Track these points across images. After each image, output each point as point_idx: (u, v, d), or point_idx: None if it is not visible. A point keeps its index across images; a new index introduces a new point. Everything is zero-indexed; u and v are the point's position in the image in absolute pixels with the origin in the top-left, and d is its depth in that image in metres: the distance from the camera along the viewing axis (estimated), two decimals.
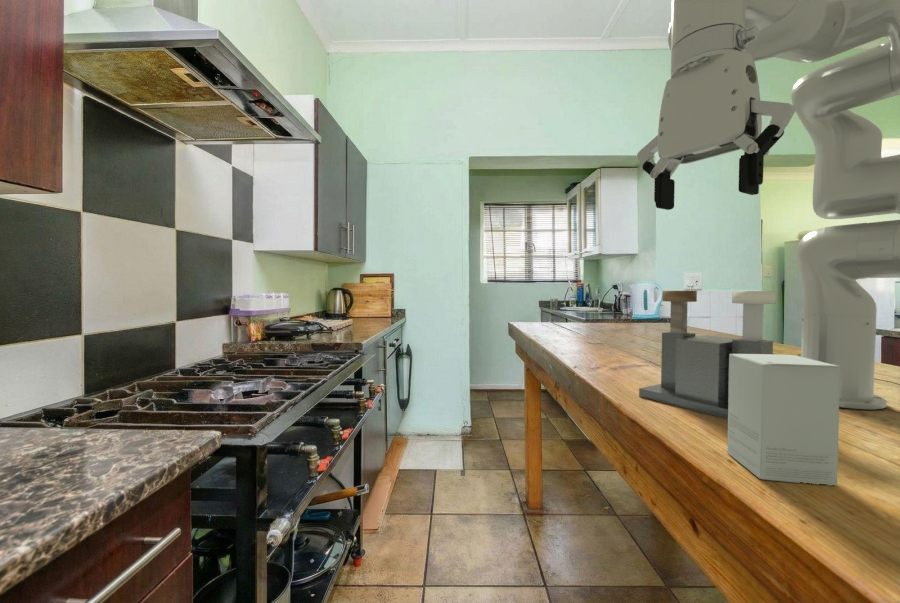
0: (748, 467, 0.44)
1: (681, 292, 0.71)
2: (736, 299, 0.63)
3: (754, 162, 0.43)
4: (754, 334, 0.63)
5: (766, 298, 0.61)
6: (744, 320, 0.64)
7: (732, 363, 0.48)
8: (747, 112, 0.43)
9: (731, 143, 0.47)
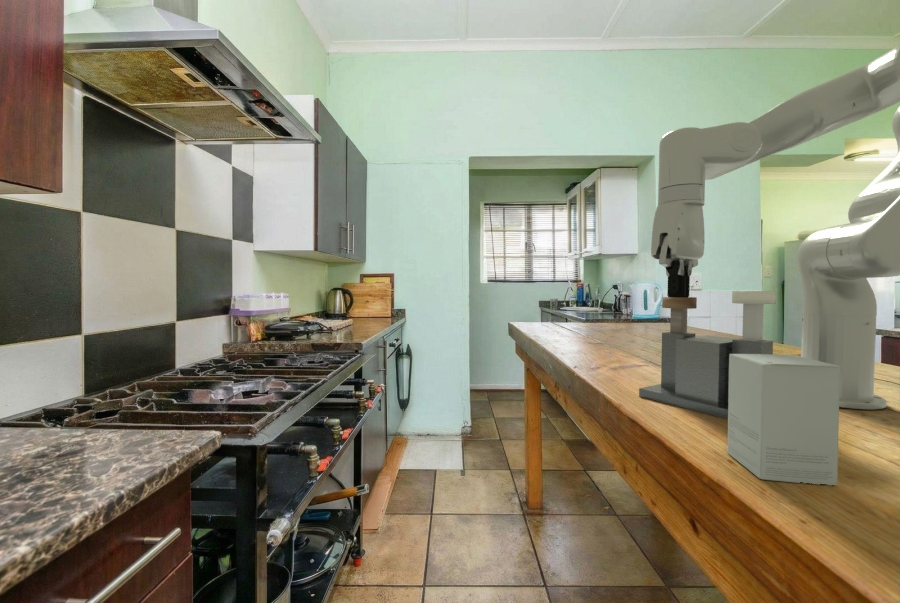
0: (748, 467, 0.44)
1: (681, 299, 0.71)
2: (736, 299, 0.63)
3: None
4: (754, 334, 0.63)
5: (766, 298, 0.61)
6: (744, 320, 0.64)
7: (732, 363, 0.48)
8: None
9: None
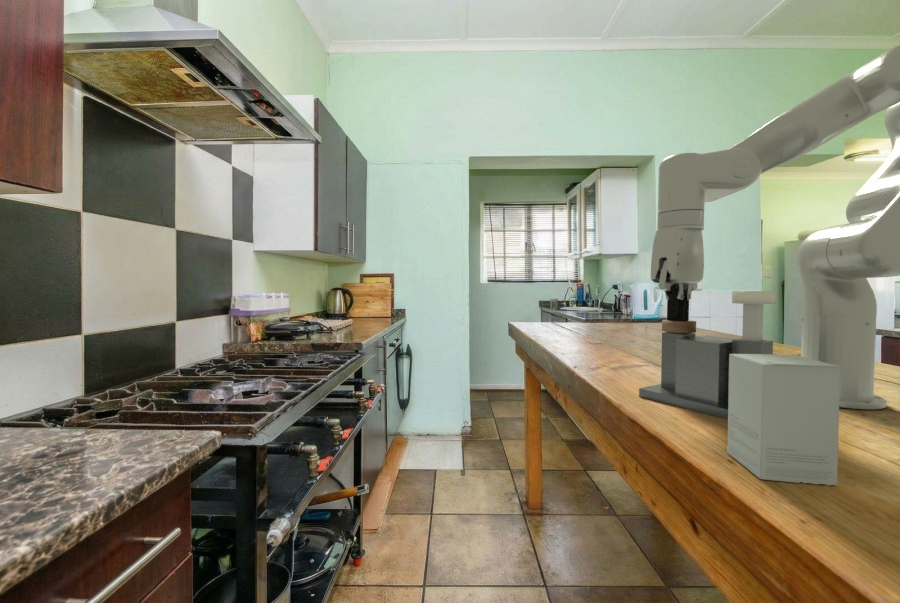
0: (748, 467, 0.44)
1: (680, 323, 0.72)
2: (736, 299, 0.63)
3: None
4: (754, 334, 0.63)
5: (766, 298, 0.61)
6: (744, 320, 0.64)
7: (732, 363, 0.48)
8: None
9: None
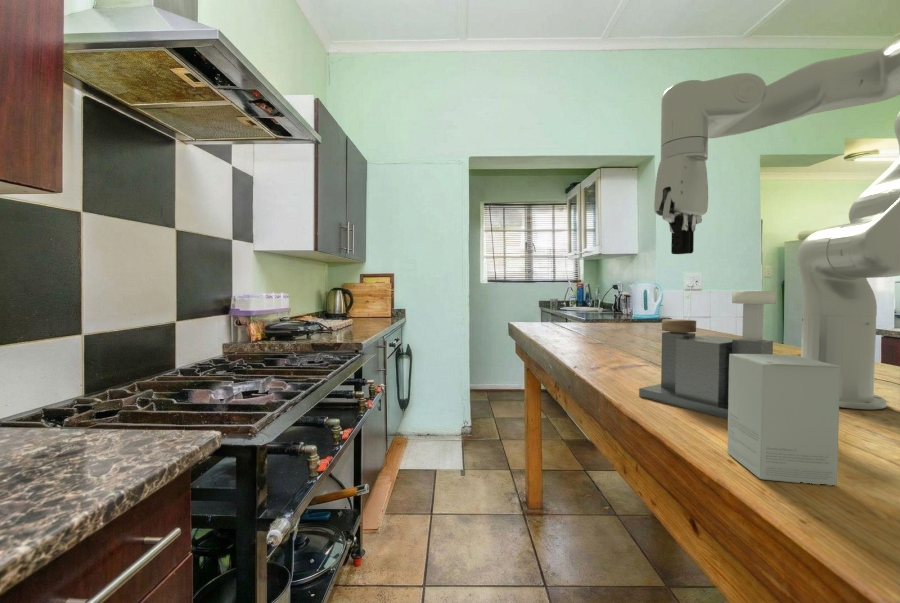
0: (748, 467, 0.44)
1: (680, 323, 0.72)
2: (736, 299, 0.63)
3: None
4: (754, 334, 0.63)
5: (766, 298, 0.61)
6: (744, 320, 0.64)
7: (732, 363, 0.48)
8: None
9: None
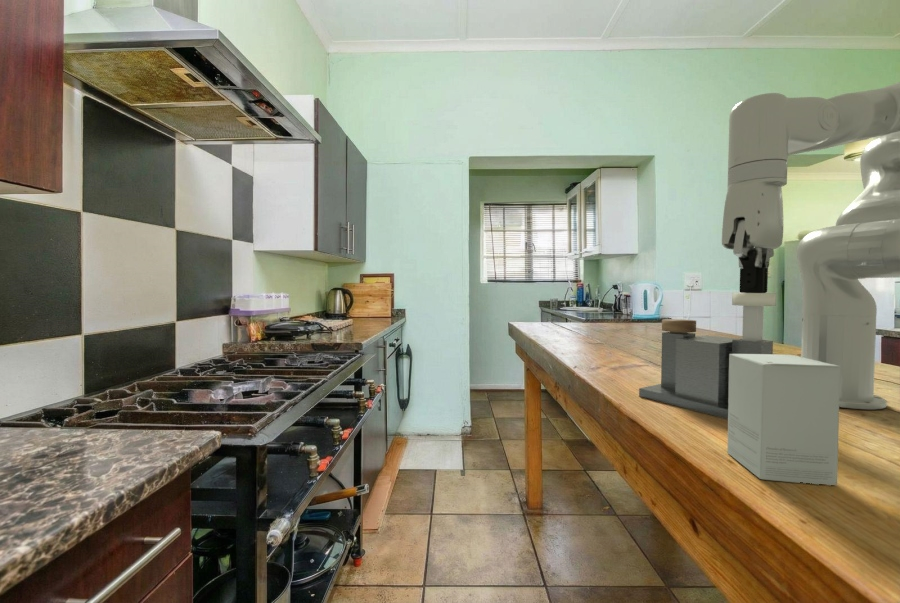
0: (748, 467, 0.44)
1: (680, 323, 0.72)
2: (736, 301, 0.63)
3: None
4: (754, 336, 0.63)
5: (766, 300, 0.61)
6: (744, 322, 0.64)
7: (732, 363, 0.48)
8: None
9: None
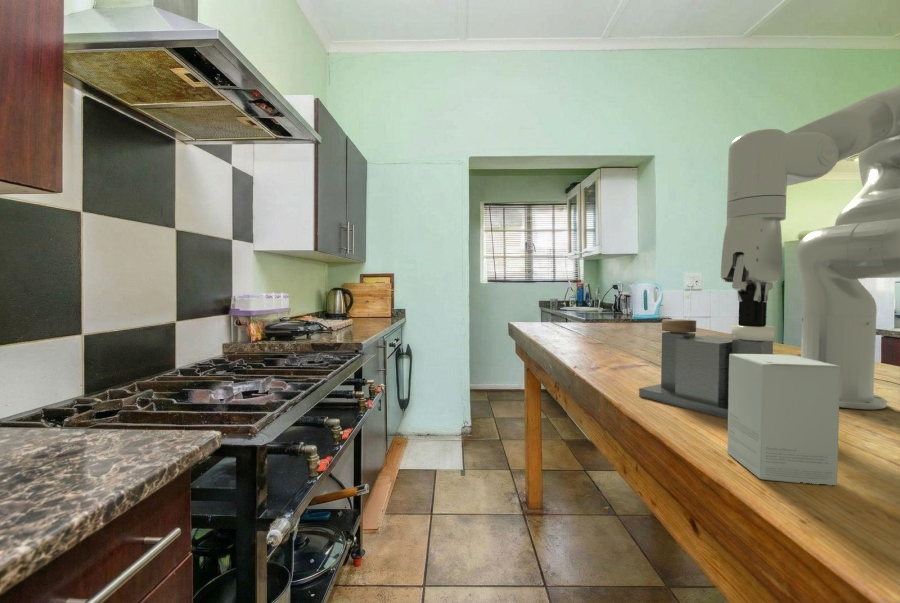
0: (748, 467, 0.44)
1: (680, 323, 0.72)
2: (735, 334, 0.64)
3: None
4: None
5: (765, 335, 0.61)
6: None
7: (732, 363, 0.48)
8: None
9: None
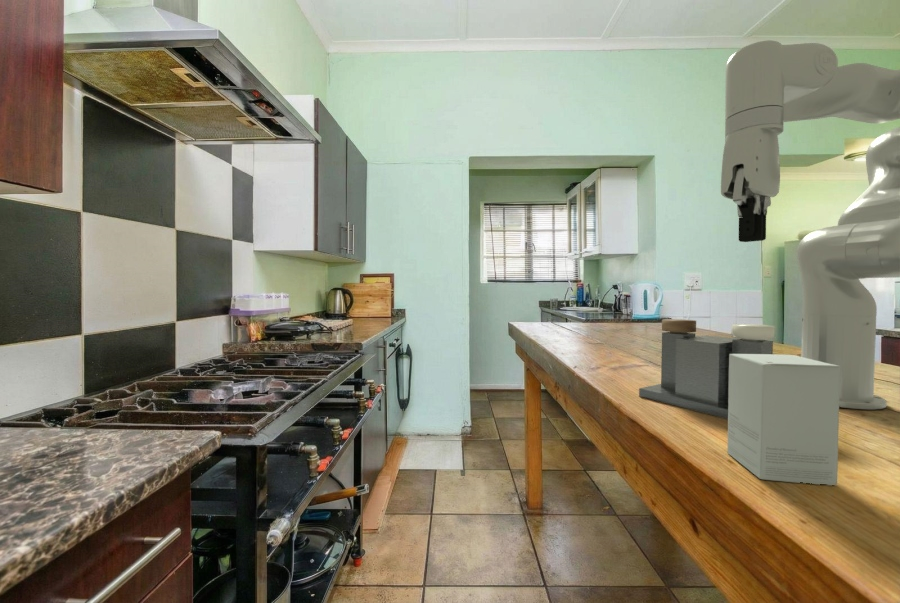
0: (748, 467, 0.44)
1: (680, 323, 0.72)
2: (735, 333, 0.64)
3: None
4: None
5: (765, 334, 0.61)
6: None
7: (732, 363, 0.48)
8: None
9: None
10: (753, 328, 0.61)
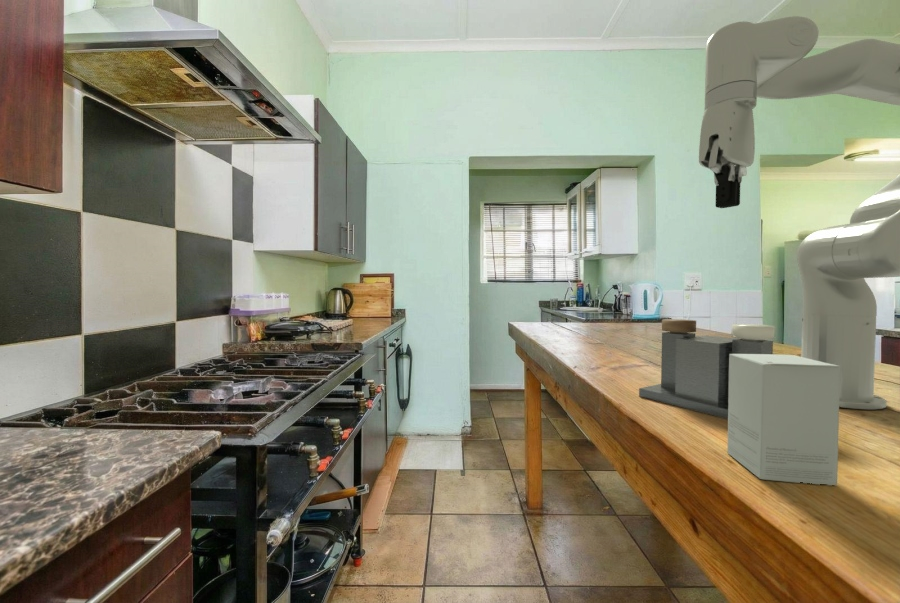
0: (748, 467, 0.44)
1: (680, 323, 0.72)
2: (735, 333, 0.64)
3: None
4: None
5: (765, 334, 0.61)
6: None
7: (732, 363, 0.48)
8: None
9: None
10: (753, 328, 0.61)
